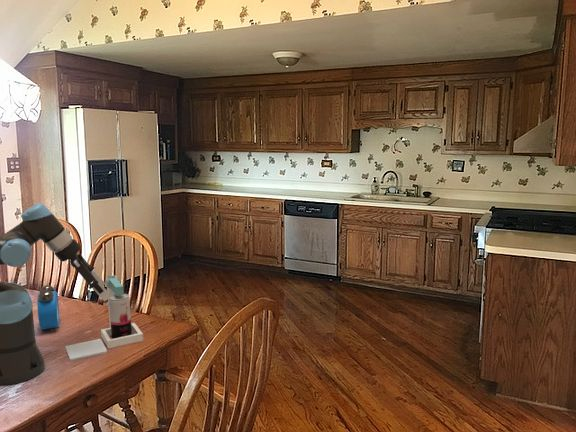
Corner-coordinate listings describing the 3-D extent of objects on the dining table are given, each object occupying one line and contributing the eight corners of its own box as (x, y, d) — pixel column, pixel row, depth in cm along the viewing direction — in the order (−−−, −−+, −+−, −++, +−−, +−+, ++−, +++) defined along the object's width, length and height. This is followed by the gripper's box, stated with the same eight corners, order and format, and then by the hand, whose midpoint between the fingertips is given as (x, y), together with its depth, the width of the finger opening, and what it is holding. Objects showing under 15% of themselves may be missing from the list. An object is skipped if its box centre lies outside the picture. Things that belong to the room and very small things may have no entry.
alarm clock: (58, 332, 171) (54, 292, 169) (39, 335, 169) (35, 294, 166) (60, 320, 183) (56, 281, 181) (41, 322, 181) (37, 283, 178)
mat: (70, 361, 150) (69, 359, 150) (65, 347, 159) (65, 346, 159) (107, 352, 155) (107, 350, 155) (100, 340, 165) (100, 338, 165)
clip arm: (114, 296, 161) (113, 287, 160) (105, 284, 173) (104, 276, 173) (125, 294, 162) (125, 285, 162) (116, 283, 175) (115, 275, 174)
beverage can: (130, 342, 163) (127, 299, 161) (110, 343, 162) (106, 300, 160) (133, 334, 170) (130, 292, 167) (114, 335, 169) (111, 294, 166)
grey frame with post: (108, 348, 158) (104, 302, 156) (97, 329, 174) (94, 287, 171) (143, 340, 164) (140, 296, 161) (130, 323, 179) (127, 282, 177)
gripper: (77, 247, 147) (120, 296, 156) (70, 230, 169) (108, 274, 178) (55, 262, 145) (100, 312, 154) (51, 243, 167) (91, 288, 176)
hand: (105, 292), depth 166 cm, fingers open, 13 cm apart
